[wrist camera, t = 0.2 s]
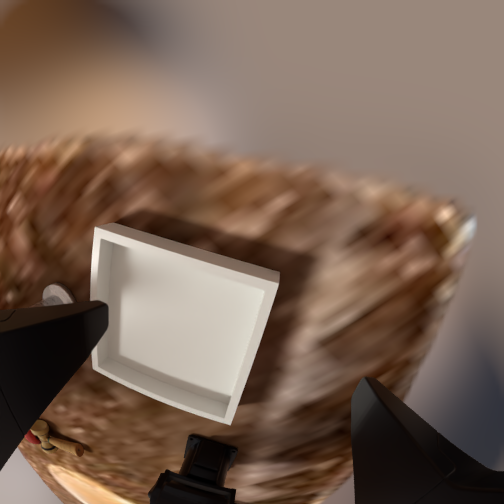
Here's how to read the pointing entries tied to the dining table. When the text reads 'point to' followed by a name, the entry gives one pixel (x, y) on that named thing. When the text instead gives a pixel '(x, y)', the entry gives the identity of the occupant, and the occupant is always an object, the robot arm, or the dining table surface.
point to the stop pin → (55, 296)
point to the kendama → (51, 440)
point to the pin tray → (178, 319)
